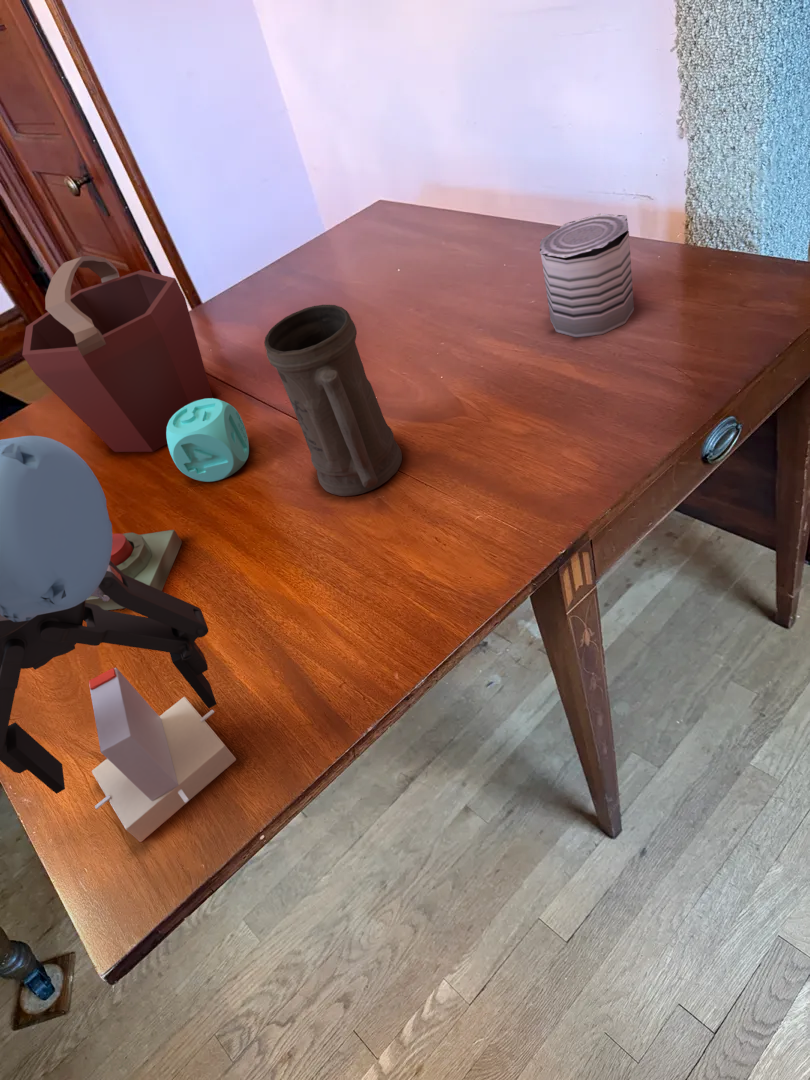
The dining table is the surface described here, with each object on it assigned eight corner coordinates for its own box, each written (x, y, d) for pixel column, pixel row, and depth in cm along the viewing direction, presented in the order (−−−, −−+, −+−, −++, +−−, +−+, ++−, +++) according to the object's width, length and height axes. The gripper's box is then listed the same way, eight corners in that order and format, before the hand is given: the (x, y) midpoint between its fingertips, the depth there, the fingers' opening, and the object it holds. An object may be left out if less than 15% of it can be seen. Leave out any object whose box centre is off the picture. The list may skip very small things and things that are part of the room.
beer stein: (304, 465, 96) (244, 331, 81) (376, 426, 97) (330, 288, 83) (355, 533, 85) (297, 392, 71) (435, 488, 87) (393, 342, 73)
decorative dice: (245, 475, 98) (219, 426, 92) (189, 488, 99) (160, 440, 94) (252, 439, 104) (228, 391, 98) (199, 452, 105) (173, 405, 100)
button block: (156, 604, 84) (138, 580, 81) (80, 614, 86) (60, 591, 84) (182, 542, 91) (167, 518, 88) (111, 552, 93) (94, 529, 91)
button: (126, 566, 84) (118, 555, 83) (95, 570, 85) (87, 560, 84) (138, 541, 87) (130, 531, 86) (108, 546, 88) (100, 535, 87)
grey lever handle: (179, 785, 62) (129, 733, 57) (151, 801, 62) (98, 750, 57) (161, 718, 68) (114, 665, 63) (136, 732, 68) (86, 679, 62)
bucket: (197, 460, 103) (101, 294, 87) (62, 482, 109) (-52, 330, 92) (242, 365, 121) (169, 212, 104) (124, 388, 126) (37, 246, 110)
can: (597, 345, 97) (588, 258, 90) (533, 327, 105) (519, 245, 97) (652, 303, 101) (648, 215, 93) (585, 288, 109) (576, 206, 101)
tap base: (139, 870, 61) (122, 856, 59) (86, 779, 69) (70, 764, 67) (258, 765, 65) (246, 749, 63) (196, 691, 73) (183, 675, 71)
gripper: (140, 451, 53) (256, 635, 67) (-209, 622, 49) (-8, 779, 63) (159, 504, 48) (281, 691, 62) (-231, 701, 44) (-6, 853, 58)
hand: (135, 736), depth 63 cm, fingers open, 13 cm apart
